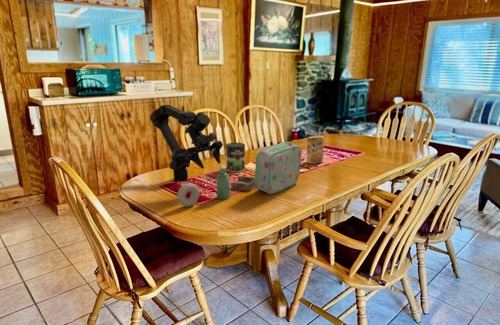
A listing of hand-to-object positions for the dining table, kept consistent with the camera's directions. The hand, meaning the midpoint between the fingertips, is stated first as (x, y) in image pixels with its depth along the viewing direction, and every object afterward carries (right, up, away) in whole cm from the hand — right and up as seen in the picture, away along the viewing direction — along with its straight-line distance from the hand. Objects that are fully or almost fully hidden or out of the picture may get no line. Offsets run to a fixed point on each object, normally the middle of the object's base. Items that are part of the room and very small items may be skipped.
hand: (211, 165), depth 158 cm
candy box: (+56, +2, +51) cm, 75 cm away
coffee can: (+9, -2, +37) cm, 38 cm away
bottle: (+5, -14, -3) cm, 15 cm away
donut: (-8, -17, -12) cm, 22 cm away
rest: (+14, -10, +11) cm, 21 cm away
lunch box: (+31, -11, +9) cm, 34 cm away
